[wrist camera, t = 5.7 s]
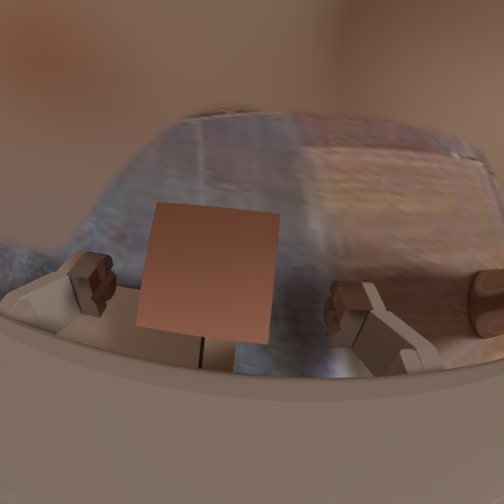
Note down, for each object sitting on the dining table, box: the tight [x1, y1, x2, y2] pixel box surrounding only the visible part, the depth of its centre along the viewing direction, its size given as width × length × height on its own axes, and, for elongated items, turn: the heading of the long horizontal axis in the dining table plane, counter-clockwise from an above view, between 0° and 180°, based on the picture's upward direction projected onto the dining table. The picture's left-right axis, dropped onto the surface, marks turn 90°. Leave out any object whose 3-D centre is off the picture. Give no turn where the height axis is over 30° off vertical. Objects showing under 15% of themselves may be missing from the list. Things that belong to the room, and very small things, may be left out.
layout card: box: [56, 286, 202, 368], centre depth 16 cm, size 11×11×1 cm
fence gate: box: [136, 202, 280, 373], centre depth 10 cm, size 9×2×12 cm, turn 174°
